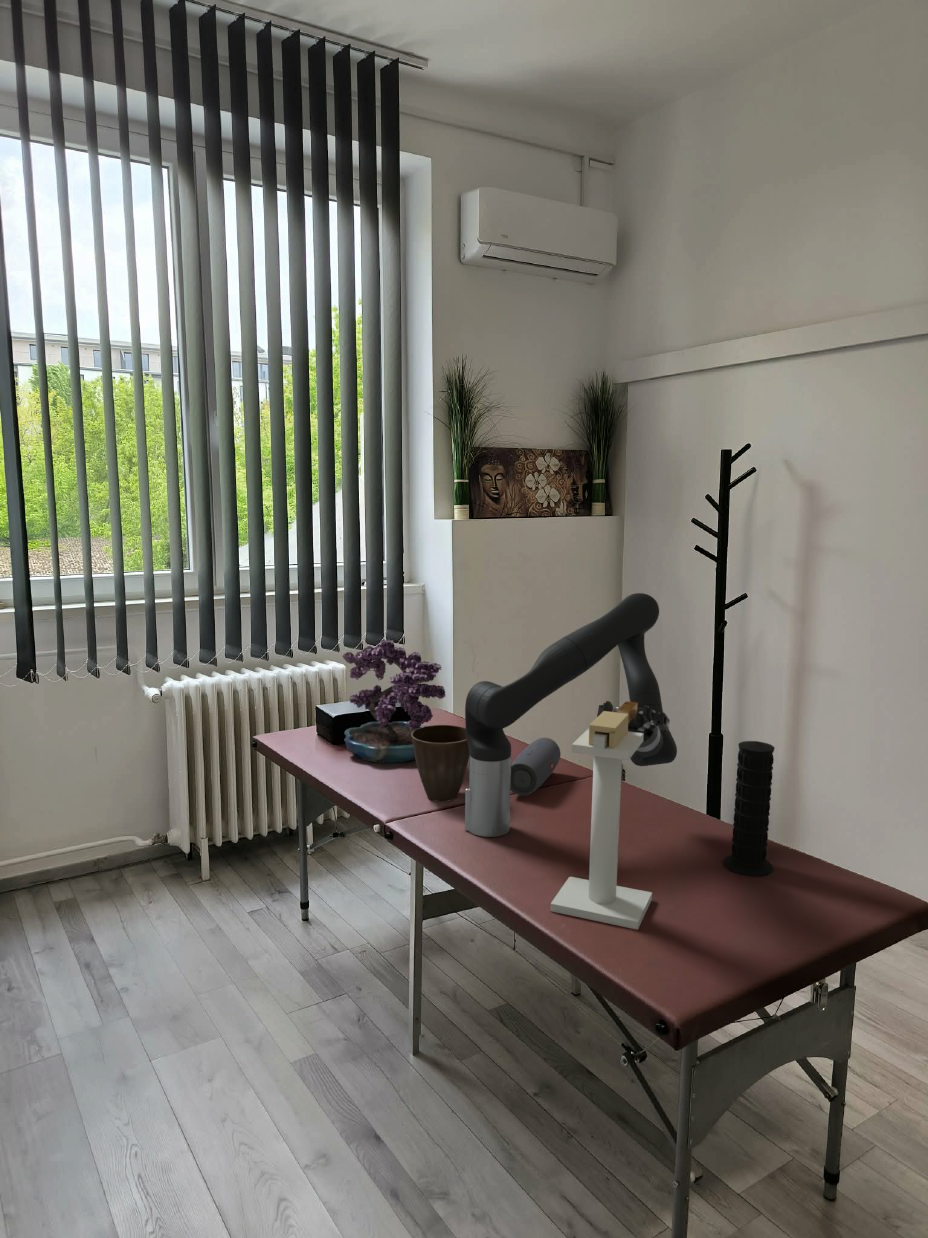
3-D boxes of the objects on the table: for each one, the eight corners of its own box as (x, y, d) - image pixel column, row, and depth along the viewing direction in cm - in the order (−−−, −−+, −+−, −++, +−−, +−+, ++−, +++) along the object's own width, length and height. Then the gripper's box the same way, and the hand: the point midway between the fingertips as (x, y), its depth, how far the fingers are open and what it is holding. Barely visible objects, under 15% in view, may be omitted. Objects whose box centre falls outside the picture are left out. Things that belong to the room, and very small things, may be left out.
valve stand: (550, 911, 163) (556, 722, 157) (569, 883, 174) (575, 706, 168) (637, 929, 157) (647, 733, 151) (651, 900, 167) (661, 716, 161)
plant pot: (450, 812, 209) (451, 746, 206) (399, 799, 217) (399, 735, 214) (483, 793, 221) (484, 731, 219) (433, 781, 229) (433, 721, 226)
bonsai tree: (325, 745, 258) (324, 634, 252) (409, 732, 271) (410, 627, 266) (377, 782, 228) (376, 657, 223) (468, 766, 242) (470, 648, 236)
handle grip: (773, 880, 176) (774, 859, 186) (783, 751, 172) (783, 737, 181) (721, 872, 179) (724, 852, 189) (729, 745, 175) (731, 731, 184)
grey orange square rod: (592, 748, 154) (592, 735, 153) (625, 712, 176) (626, 701, 176) (605, 749, 153) (605, 736, 153) (637, 714, 176) (637, 702, 175)
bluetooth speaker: (539, 803, 215) (540, 763, 214) (502, 798, 218) (503, 759, 217) (562, 774, 236) (563, 737, 235) (528, 769, 239) (529, 733, 238)
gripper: (609, 709, 189) (592, 685, 175) (677, 717, 184) (666, 693, 170) (603, 743, 187) (586, 722, 173) (672, 752, 182) (660, 731, 167)
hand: (626, 708), depth 171 cm, fingers open, 7 cm apart
